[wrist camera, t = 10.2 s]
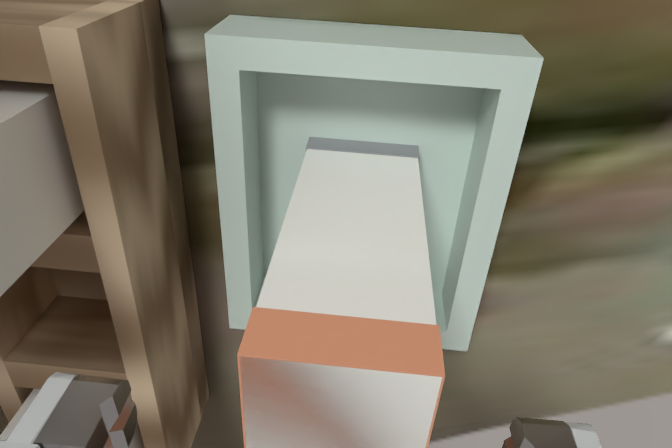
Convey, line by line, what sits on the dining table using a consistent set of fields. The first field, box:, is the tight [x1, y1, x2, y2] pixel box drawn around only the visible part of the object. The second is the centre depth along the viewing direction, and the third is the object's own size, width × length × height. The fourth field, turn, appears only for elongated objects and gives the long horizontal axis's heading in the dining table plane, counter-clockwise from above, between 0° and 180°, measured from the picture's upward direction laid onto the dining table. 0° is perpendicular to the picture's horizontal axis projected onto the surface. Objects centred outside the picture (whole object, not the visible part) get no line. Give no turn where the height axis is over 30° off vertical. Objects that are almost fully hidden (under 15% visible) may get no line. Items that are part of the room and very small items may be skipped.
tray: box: [204, 15, 544, 351], centre depth 20 cm, size 12×10×3 cm
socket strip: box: [0, 0, 209, 448], centre depth 21 cm, size 21×7×6 cm, turn 177°
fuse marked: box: [237, 137, 445, 448], centre depth 16 cm, size 4×4×11 cm
